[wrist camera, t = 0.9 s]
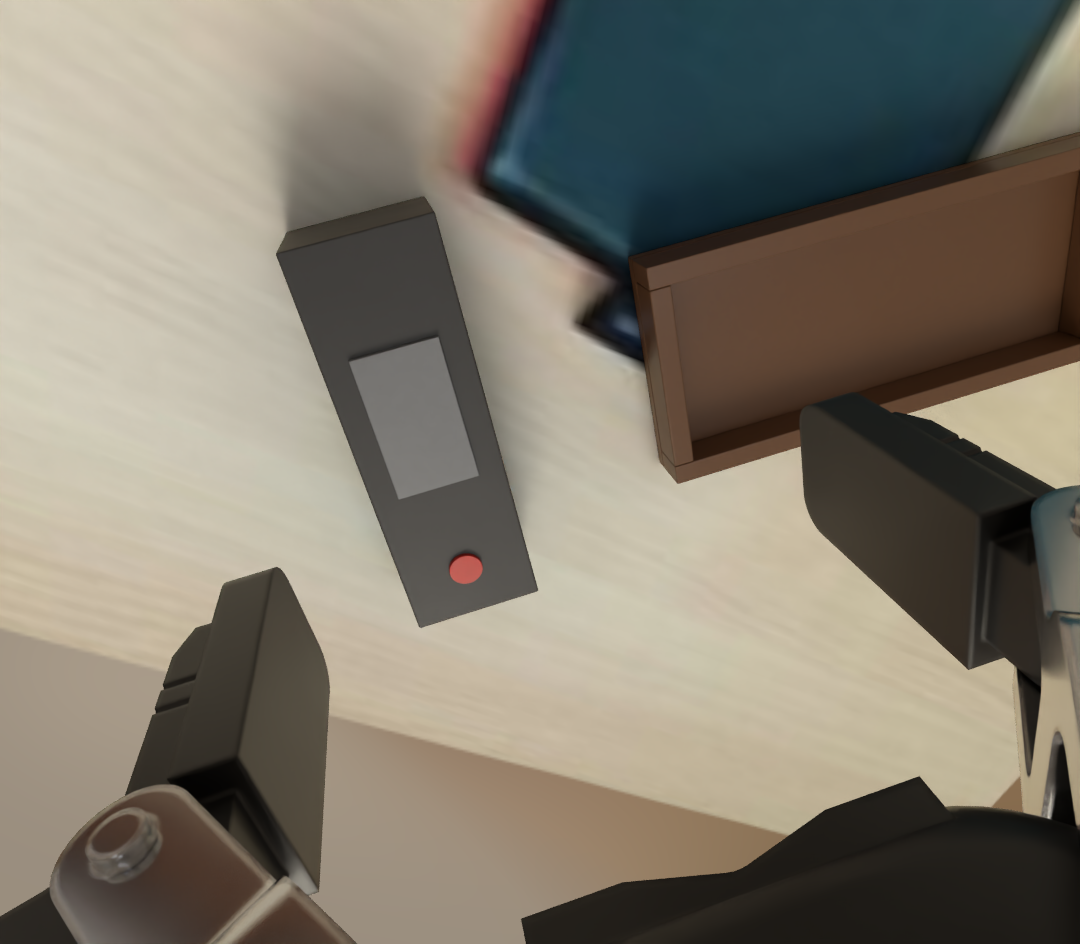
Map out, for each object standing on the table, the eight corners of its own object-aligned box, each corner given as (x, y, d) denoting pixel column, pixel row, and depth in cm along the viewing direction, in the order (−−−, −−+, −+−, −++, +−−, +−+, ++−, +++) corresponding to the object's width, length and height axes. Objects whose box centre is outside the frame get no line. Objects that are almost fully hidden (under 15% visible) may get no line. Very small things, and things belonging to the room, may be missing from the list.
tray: (627, 256, 27) (645, 268, 25) (1090, 128, 28) (1138, 131, 27) (659, 462, 31) (677, 484, 29) (1062, 340, 33) (1102, 354, 31)
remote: (286, 232, 24) (274, 254, 21) (424, 195, 24) (434, 212, 21) (413, 574, 31) (420, 631, 28) (520, 541, 31) (539, 593, 28)
